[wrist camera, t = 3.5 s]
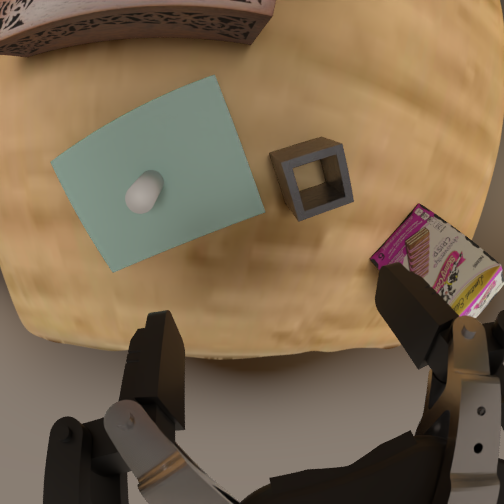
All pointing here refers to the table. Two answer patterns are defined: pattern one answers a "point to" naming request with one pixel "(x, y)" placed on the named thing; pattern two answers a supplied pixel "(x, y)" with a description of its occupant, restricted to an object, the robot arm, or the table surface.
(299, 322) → the table surface
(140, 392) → the robot arm
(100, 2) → the tissue box cover
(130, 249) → the post board
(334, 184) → the open box
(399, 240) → the candy bar box
